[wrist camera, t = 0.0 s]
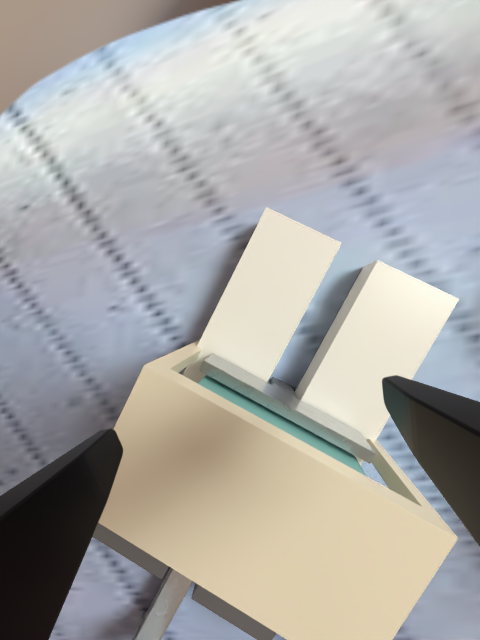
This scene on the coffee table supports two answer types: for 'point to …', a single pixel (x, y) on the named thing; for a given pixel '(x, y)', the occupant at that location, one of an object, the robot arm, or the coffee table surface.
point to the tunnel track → (352, 337)
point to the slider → (288, 406)
